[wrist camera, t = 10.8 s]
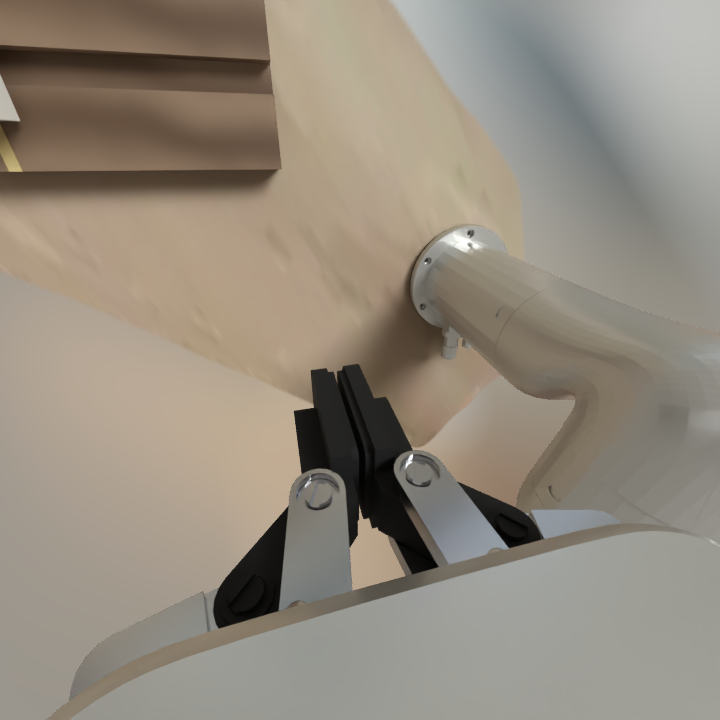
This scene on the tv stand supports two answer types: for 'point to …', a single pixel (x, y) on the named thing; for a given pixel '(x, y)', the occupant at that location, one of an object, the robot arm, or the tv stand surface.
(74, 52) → the fader console
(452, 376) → the tv stand surface
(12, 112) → the fader knob
